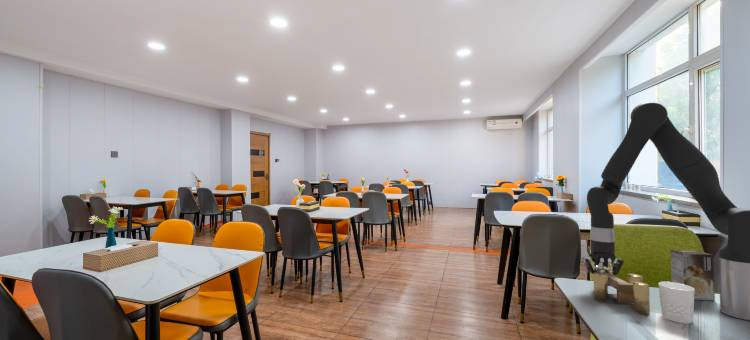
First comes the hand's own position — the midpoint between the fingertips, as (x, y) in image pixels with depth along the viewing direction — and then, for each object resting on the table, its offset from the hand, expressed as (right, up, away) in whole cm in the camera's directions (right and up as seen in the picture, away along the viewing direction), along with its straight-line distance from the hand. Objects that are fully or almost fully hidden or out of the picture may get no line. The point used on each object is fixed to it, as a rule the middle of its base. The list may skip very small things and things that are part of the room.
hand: (602, 284), depth 116 cm
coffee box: (+29, -3, -5) cm, 29 cm away
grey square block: (-1, -3, -8) cm, 9 cm away
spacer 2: (+5, -2, -9) cm, 10 cm away
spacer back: (-1, -2, -17) cm, 18 cm away
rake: (-1, -1, -6) cm, 6 cm away
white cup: (+6, -2, -22) cm, 23 cm away
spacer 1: (-6, -3, -8) cm, 10 cm away
